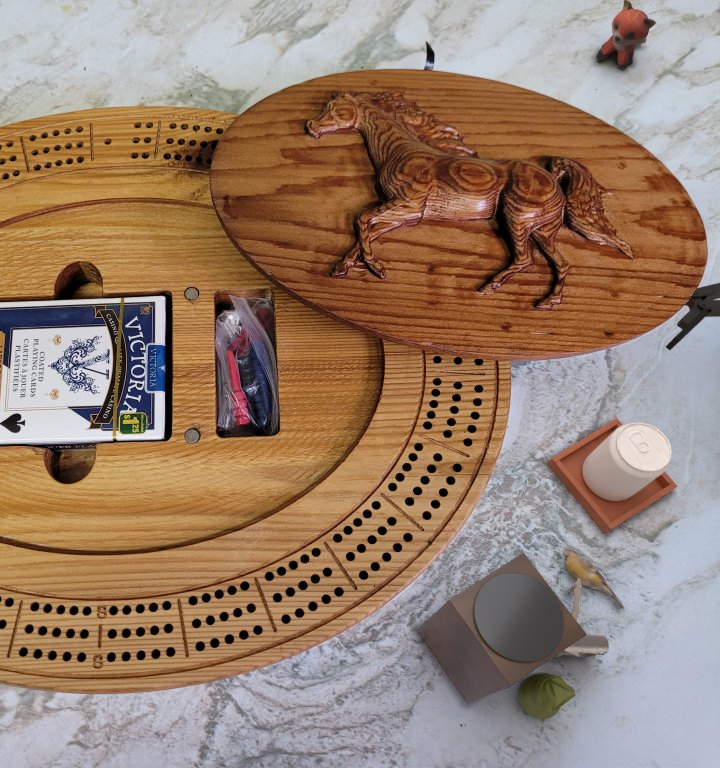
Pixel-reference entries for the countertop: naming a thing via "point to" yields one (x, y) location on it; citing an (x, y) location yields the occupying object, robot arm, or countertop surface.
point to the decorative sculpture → (584, 576)
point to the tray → (597, 508)
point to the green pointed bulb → (544, 694)
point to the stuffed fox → (626, 34)
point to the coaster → (518, 617)
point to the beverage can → (627, 461)
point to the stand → (468, 650)
